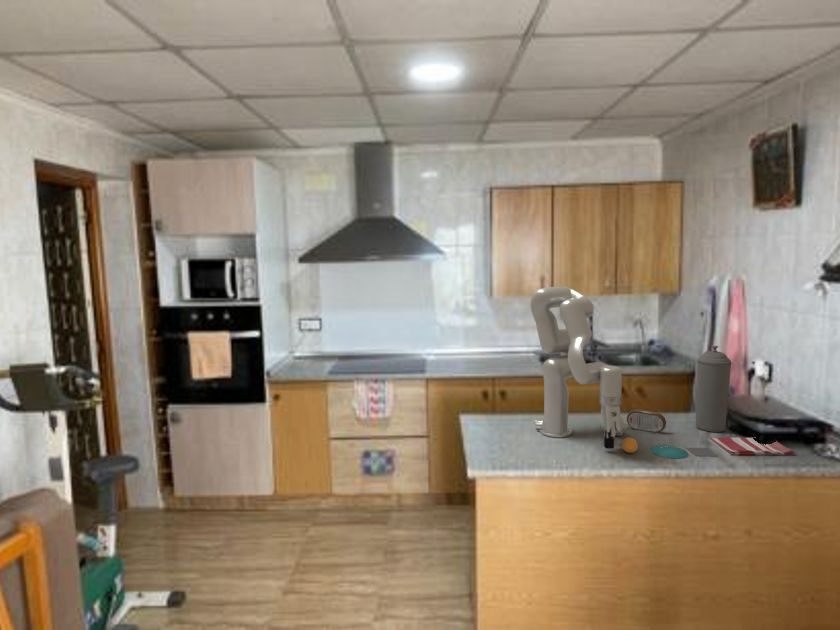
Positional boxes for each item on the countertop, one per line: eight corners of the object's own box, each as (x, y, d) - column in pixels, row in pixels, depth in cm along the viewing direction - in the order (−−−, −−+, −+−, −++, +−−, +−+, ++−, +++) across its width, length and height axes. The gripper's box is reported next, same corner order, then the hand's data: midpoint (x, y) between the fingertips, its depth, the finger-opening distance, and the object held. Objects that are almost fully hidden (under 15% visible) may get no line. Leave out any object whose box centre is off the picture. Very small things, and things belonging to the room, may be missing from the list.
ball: (643, 443, 203) (637, 457, 204) (634, 436, 208) (628, 450, 209) (630, 440, 202) (624, 453, 202) (622, 433, 207) (616, 446, 208)
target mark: (648, 455, 203) (648, 454, 203) (651, 443, 214) (651, 443, 214) (688, 460, 197) (688, 460, 197) (688, 448, 209) (688, 448, 209)
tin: (665, 432, 227) (666, 412, 226) (664, 435, 224) (665, 414, 223) (627, 426, 235) (628, 407, 234) (625, 428, 232) (626, 409, 231)
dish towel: (795, 457, 201) (796, 450, 201) (730, 457, 201) (731, 450, 201) (767, 441, 218) (768, 434, 217) (707, 441, 218) (707, 434, 218)
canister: (694, 431, 228) (698, 347, 223) (692, 422, 239) (696, 342, 235) (729, 435, 223) (734, 349, 219) (725, 425, 235) (730, 344, 230)
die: (622, 441, 220) (633, 419, 222) (603, 429, 221) (613, 408, 223) (615, 441, 228) (625, 420, 230) (596, 430, 229) (607, 410, 231)
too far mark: (695, 456, 201) (695, 455, 201) (686, 448, 209) (686, 447, 209) (718, 456, 201) (718, 455, 201) (708, 448, 209) (708, 447, 209)
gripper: (627, 405, 197) (625, 455, 199) (614, 394, 211) (613, 440, 214) (605, 405, 197) (604, 455, 199) (594, 394, 212) (593, 440, 214)
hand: (608, 447), depth 206 cm, fingers closed
